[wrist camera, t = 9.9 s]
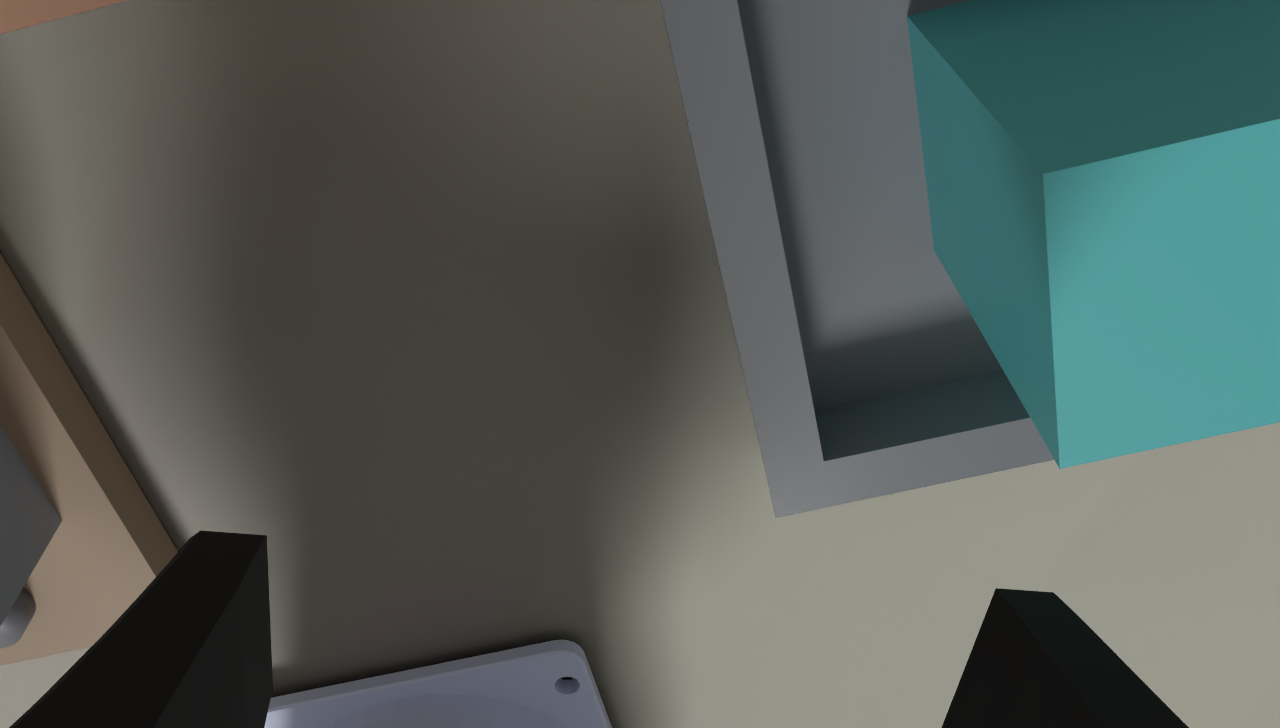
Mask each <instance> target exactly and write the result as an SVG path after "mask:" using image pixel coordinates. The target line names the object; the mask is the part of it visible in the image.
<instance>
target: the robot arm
mask: <svg viewBox="0 0 1280 728" xmlns="http://www.w3.org/2000/svg"><path fill="white" fill-rule="evenodd" d="M562 677H572V678H574V679H572V680H563V679H560V678H562ZM272 690H273V680H272V656H271V631H270V607H269V582H268V558H267V536H266V535H252V534H239V533H225V532H211V531H199V532H198V533H197V534H195V535H194V536H193V537H191V538H190V539H189V540H188V541H187V542H186V543H185V544H184V545H183V547H182V548H181V549H180V550H179V551H178V552H177V554H176V555H175V556H174V557H173V558H172V559H171V561H170V562H169V563H168V564H167V565H166V566H165V567H164V568H163V570H162V571H161V572H160V573H159V574H158V575H157V576H156V578H155V579H154V580H153V581H152V582H151V583H150V584H149V585H148V587H147V588H146V589H145V590H144V591H143V592H142V593H141V594H140V595H139V597H138V598H137V599H136V600H135V601H134V602H133V603H132V604H131V605H130V606H129V608H128V609H127V610H126V611H125V612H124V613H123V614H122V615H121V616H120V617H119V618H118V619H117V620H116V622H115V623H114V624H113V625H112V626H111V627H110V628H109V629H108V630H107V631H106V632H105V633H104V634H103V635H102V637H101V638H100V639H99V640H98V641H97V642H96V643H95V644H94V645H93V646H92V647H91V648H90V649H89V650H88V651H87V652H86V653H85V654H84V655H83V656H82V657H81V658H80V659H79V660H78V661H77V662H76V663H75V664H74V665H73V666H72V667H71V668H70V669H69V670H68V671H67V672H66V673H65V674H64V675H63V676H62V677H61V678H60V679H59V680H58V681H57V682H56V683H55V684H54V685H53V686H52V687H51V688H50V689H49V690H48V691H47V692H46V693H45V694H44V695H43V696H42V697H41V698H40V699H39V700H38V701H37V702H36V703H35V704H34V705H33V706H32V707H31V708H30V709H29V710H28V711H27V712H26V713H25V714H23V715H22V716H21V717H20V718H19V719H18V720H17V721H16V722H15V723H14V724H13V725H12V726H10V727H9V728H612V726H611V723H610V721H609V718H608V715H607V713H606V710H605V707H604V704H603V702H602V699H601V696H600V693H599V691H598V688H597V685H596V683H595V680H594V677H593V674H592V672H591V669H590V666H589V664H588V661H587V658H586V655H585V653H584V651H583V650H582V648H581V647H580V646H579V645H578V644H576V643H574V642H572V641H568V640H553V641H548V642H543V643H538V644H533V645H528V646H524V647H519V648H514V649H509V650H504V651H499V652H494V653H489V654H484V655H479V656H474V657H469V658H464V659H460V660H455V661H450V662H445V663H440V664H435V665H430V666H425V667H420V668H415V669H410V670H405V671H401V672H396V673H391V674H386V675H381V676H376V677H371V678H366V679H361V680H356V681H351V682H346V683H341V684H337V685H332V686H327V687H322V688H317V689H312V690H307V691H302V692H297V693H292V694H287V695H282V696H278V697H273V698H271V695H272ZM942 728H1189V727H1188V726H1187V725H1186V724H1185V723H1183V722H1182V721H1181V719H1180V718H1179V717H1178V716H1177V715H1176V714H1175V713H1174V712H1173V711H1172V710H1171V709H1170V708H1169V707H1168V706H1167V705H1166V704H1165V703H1164V702H1163V701H1162V700H1161V699H1160V698H1159V697H1158V696H1157V695H1156V694H1155V693H1154V692H1153V691H1152V690H1151V689H1150V688H1149V687H1148V686H1147V685H1146V684H1145V683H1144V682H1143V681H1142V680H1141V679H1140V678H1139V677H1138V676H1137V675H1136V674H1135V673H1134V672H1133V671H1132V670H1131V669H1130V668H1129V667H1128V666H1127V665H1126V664H1125V663H1124V662H1123V661H1122V660H1121V659H1120V658H1119V657H1118V656H1117V655H1116V654H1115V653H1114V652H1113V651H1112V650H1111V649H1110V648H1109V647H1108V646H1107V645H1106V644H1105V643H1104V642H1103V640H1102V639H1101V638H1100V637H1099V636H1098V635H1097V634H1096V633H1095V632H1094V631H1093V630H1092V629H1091V628H1090V627H1089V626H1088V625H1087V624H1086V623H1085V622H1084V621H1083V620H1082V619H1081V618H1080V617H1079V616H1078V615H1077V614H1075V613H1074V612H1073V611H1072V610H1071V609H1070V608H1069V607H1068V606H1067V605H1066V604H1065V603H1064V602H1063V601H1062V600H1061V599H1060V598H1059V597H1058V596H1057V595H1055V594H1054V593H1052V592H1038V591H1024V590H1010V589H997V588H996V590H995V592H994V595H993V597H992V600H991V602H990V605H989V608H988V610H987V613H986V615H985V618H984V620H983V623H982V626H981V628H980V631H979V633H978V636H977V638H976V641H975V643H974V646H973V649H972V651H971V654H970V656H969V659H968V661H967V664H966V667H965V669H964V672H963V674H962V677H961V679H960V682H959V685H958V687H957V690H956V692H955V695H954V697H953V700H952V702H951V705H950V708H949V710H948V713H947V715H946V718H945V720H944V723H943V726H942Z"/></svg>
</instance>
